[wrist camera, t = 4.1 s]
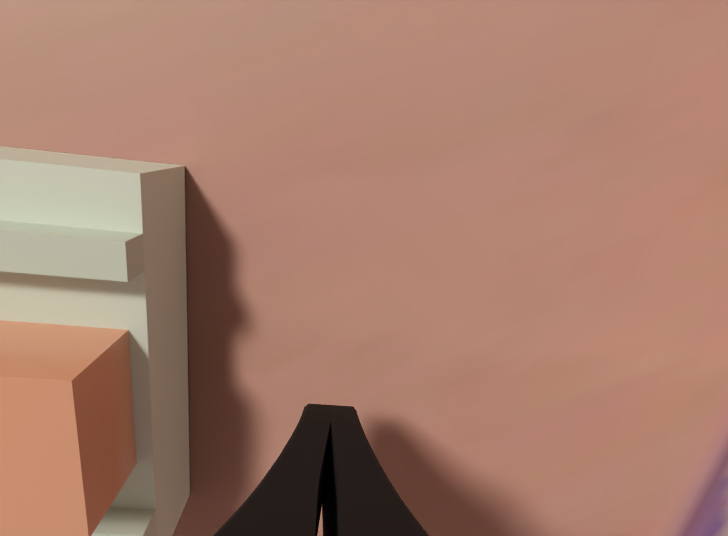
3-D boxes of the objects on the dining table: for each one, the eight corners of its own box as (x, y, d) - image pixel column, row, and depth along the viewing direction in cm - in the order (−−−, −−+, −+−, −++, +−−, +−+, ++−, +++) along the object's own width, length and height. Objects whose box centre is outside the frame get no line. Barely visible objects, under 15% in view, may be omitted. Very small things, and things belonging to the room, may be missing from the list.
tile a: (128, 329, 11) (71, 380, 9) (136, 463, 13) (89, 539, 10) (-49, 316, 11) (-156, 365, 9) (-21, 455, 12) (-108, 531, 10)
